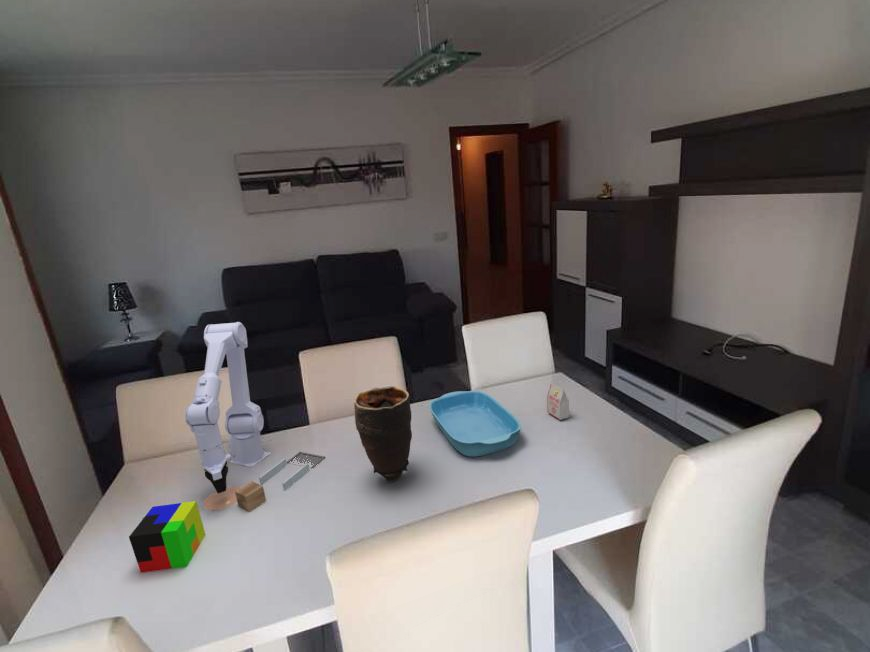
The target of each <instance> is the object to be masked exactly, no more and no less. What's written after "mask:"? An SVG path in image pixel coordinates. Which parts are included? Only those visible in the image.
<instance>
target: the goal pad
mask: <svg viewBox="0 0 870 652" xmlns="http://www.w3.org/2000/svg"><path fill="white" fill-rule="evenodd" d="M239 488H241V486H240V487H239V486H226V491H224V492H221V493H217V491H216V490H215V491H213V492H212V493H211V494H209V495H208V496H207V497H206V498H205V500H204V501H203V507H204V508H205V509H206V510H209V511H217V510H223V509H226V508H228V507H230V506H232V505H234V504H235V503H237V498H236V494H235V491H236V490H238V489H239Z"/></svg>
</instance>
